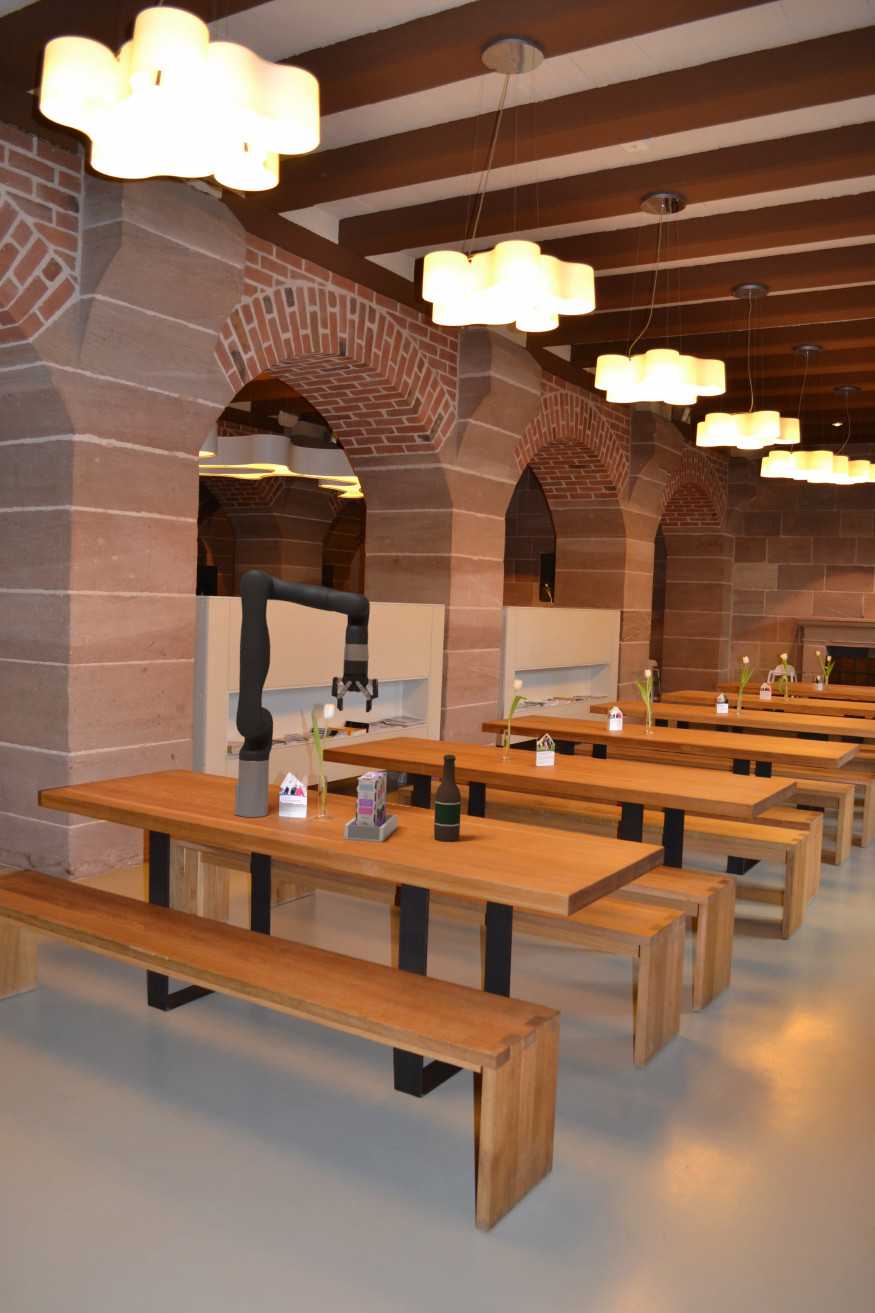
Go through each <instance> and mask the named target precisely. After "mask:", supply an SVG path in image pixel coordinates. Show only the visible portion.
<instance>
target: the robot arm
mask: <svg viewBox="0 0 875 1313" xmlns="http://www.w3.org/2000/svg"><path fill="white" fill-rule="evenodd" d="M239 589H240V600H241V603H240V604H241V626H240V638H239V639H240V640H239V688H238V689H239V691H238V693H239V694H238V701H237V709H236V718H235V725H236V726H235V727H236V730H237V732H238V733H239V735H240V736H241V737H243V738H244V741H243V744H242V746H241V747H240V749H239V752H238V778H237V783H236V784H235V795H234V796H235V797H234V798H235V800H234V815H235V816H239V817H244V818H246V817H247V818H261V817H266V816H268V810H269V779H270V754H271V751H272V748H273V738H274V737H273V736H274V719H273V715H272V713H271V712H270V711H269V710H268V709H267V708H265V707H264V706H263V705H262V704H263V702H262V701H263V700H262V698H263V690H264V686H265V684H266V680H267V677H268V673H269V669H270V664H271V637H270V633H269V632H270V631H269V626H268V620H267V607H268V601H282V602H289V603H292V604H296V605H300V606H304V607H307V608H311V609H316V610H321V611H325V612H335V613H339V614H342V615H347V624H346V628H345V636H344V637H345V639H344V651H343V672H342V673H343V674H342V677H338V676H334V677H332V684H331V694H330V695H331V696H332V697H335V698H336V699H337V700H336V705H337V706H336V709H338V711H339V712H342V711H344V698H343V697H345V694H347V693H348V692H351V693H353V692H356V693H362V695H364V696H365V698H366V701H365V713H370V712H371V711H372V707H373V700H375V699H378V698H379V680H378V678H369V655H370V654H369V621H370V610H371V604H370V600H369V598H368V597H367V596H366V595H363V594H361V593H354V592H351V591H350V592H349V591H342V590H338V589H334V588H331V587H327V586H326V587H325V586H320V585H315V584H309V583H308V584H307V583H299V582H292V581H288V580H286V579H282V578H279V577H277V576H273V575H270V574H269V573H267V572H265V571H262V570H259V569H251V570H248V571H247V572H245V573H244V574H243V576H242V577H241V579H240V582H239ZM341 683H342V684H343V686H344V687H342V689H341V690H340V692H338V690H339V684H341ZM369 683H370V686H371V688H372V694H371V693H370V690H369V689H368V687H367V686H368V685H369Z"/></svg>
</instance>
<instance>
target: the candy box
mask: <svg viewBox="0 0 875 1313" xmlns="http://www.w3.org/2000/svg"><path fill="white" fill-rule="evenodd" d="M387 775H388V774H387V772H381V771H379V772H378V771H367V772H366V773H365V774H363V775H361V776H359V777H357V778H356V779H357V780H356V781H357V782H356V801H355V804H356V805H355V817H356V824H355V825H362V826H376V827H381V826H382V825H383V824H384V823H385V815H386V814H387V812H386V811H387V810H386V807H387V806H386V805H387V779H388V778H387Z"/></svg>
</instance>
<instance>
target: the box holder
mask: <svg viewBox="0 0 875 1313" xmlns="http://www.w3.org/2000/svg"><path fill="white" fill-rule="evenodd" d="M355 824H356V816H354V817H353V818H352V819H350V821H348V822H346V823H345V825H344V836H343V837H344V838H343V839H344V840H349V841H350V840H351V841H363V842H379V843H384V842H385V840H386V839H388V838H389V836H390V835H392V833H393V832H395V831H396V830H397V827H398V814H390V813H389V814H388V813H386V815H385V823H384V824H383V825H382V826H381V827H376V826H362V825H355Z"/></svg>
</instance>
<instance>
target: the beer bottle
mask: <svg viewBox="0 0 875 1313" xmlns="http://www.w3.org/2000/svg"><path fill="white" fill-rule="evenodd" d="M456 760H457V759H456V755H453V754H444V755H443V769H442V770H443V771H442V780H441V782H440V785H439V786H438V787H437V790H436V792H435V799H434V824H433V826H434V827H433V834H434V835H433V837H434V840H435V841H439V842H442V843H443V842H446V843H453V842H457V841H459V840H460V833H461V832H460V831H461V808H462V807H461V805H462V804H461V803H462V802H461V800H462V798H461V792H460V788H459V787H458V785H457V783H456V773H455V772H456V763H455V761H456Z"/></svg>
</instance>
